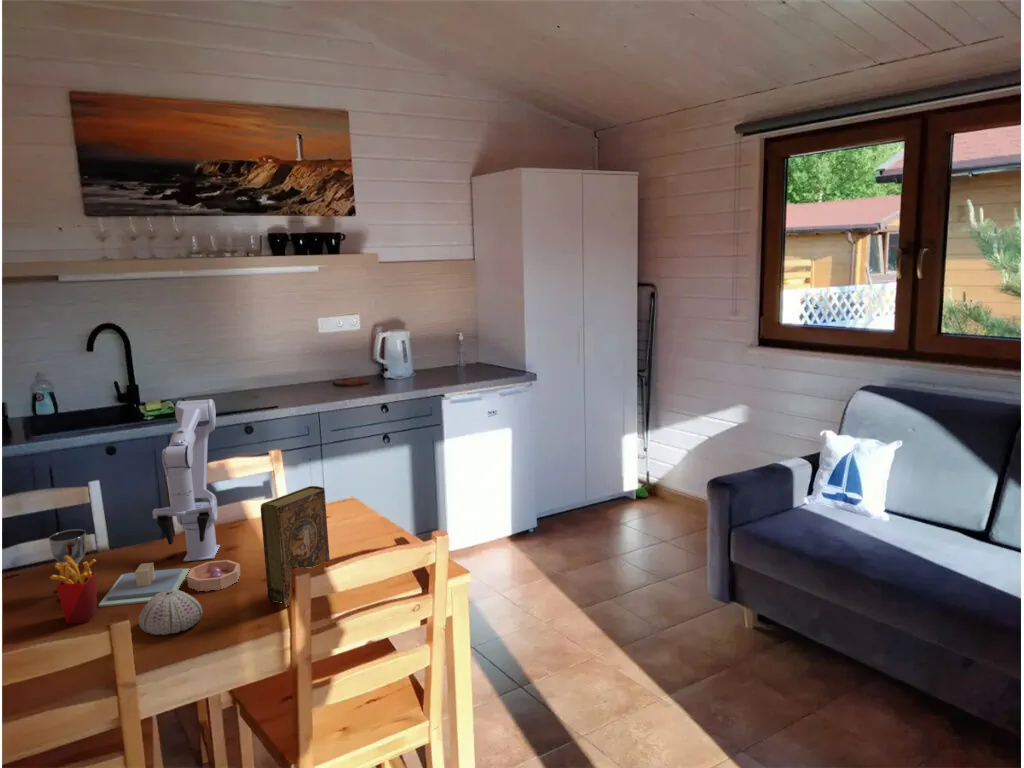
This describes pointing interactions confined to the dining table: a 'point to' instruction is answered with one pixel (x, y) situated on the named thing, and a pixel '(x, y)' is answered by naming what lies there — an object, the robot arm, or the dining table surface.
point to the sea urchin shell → (170, 613)
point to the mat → (141, 599)
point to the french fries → (77, 591)
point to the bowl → (213, 575)
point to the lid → (145, 582)
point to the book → (293, 537)
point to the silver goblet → (68, 545)
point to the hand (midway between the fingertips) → (186, 541)
